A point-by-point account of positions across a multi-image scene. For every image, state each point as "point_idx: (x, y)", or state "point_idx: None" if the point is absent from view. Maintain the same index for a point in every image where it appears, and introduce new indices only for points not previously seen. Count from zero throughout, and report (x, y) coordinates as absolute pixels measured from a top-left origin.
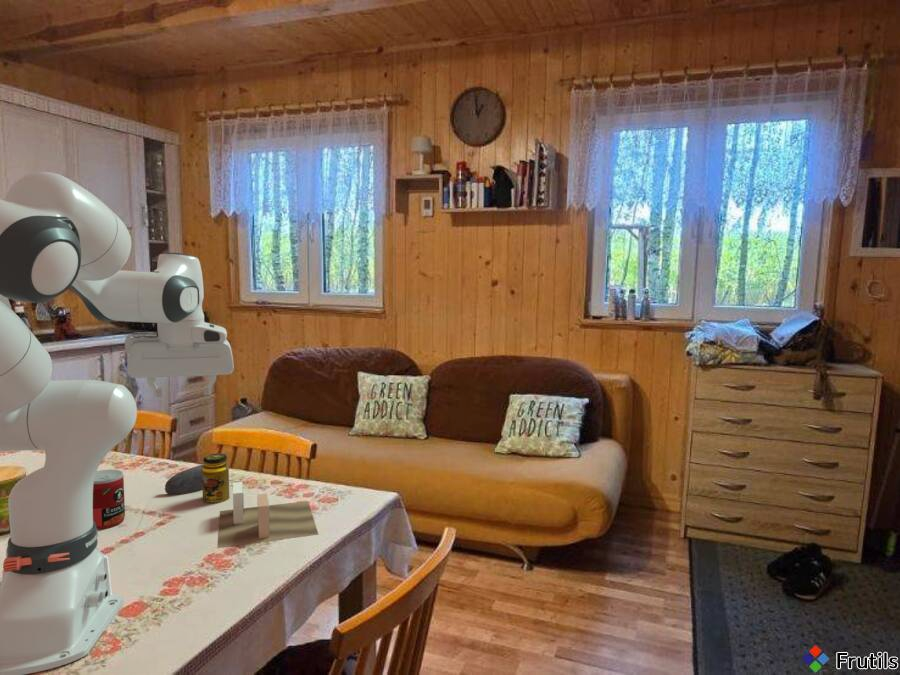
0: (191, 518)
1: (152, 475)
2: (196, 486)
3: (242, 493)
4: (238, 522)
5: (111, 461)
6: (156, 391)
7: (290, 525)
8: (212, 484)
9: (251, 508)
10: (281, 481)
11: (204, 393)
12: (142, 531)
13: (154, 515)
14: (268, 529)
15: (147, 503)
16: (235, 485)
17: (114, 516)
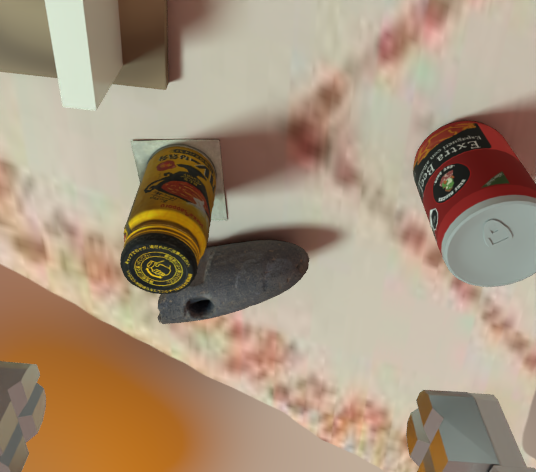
0: (248, 98)
1: (323, 364)
2: (230, 251)
3: None
4: None
5: (390, 437)
6: (494, 449)
7: None
8: (179, 186)
9: None
10: (17, 248)
11: (14, 375)
12: (382, 61)
13: (340, 156)
14: None
15: (349, 233)
16: (83, 79)
17: (450, 137)
